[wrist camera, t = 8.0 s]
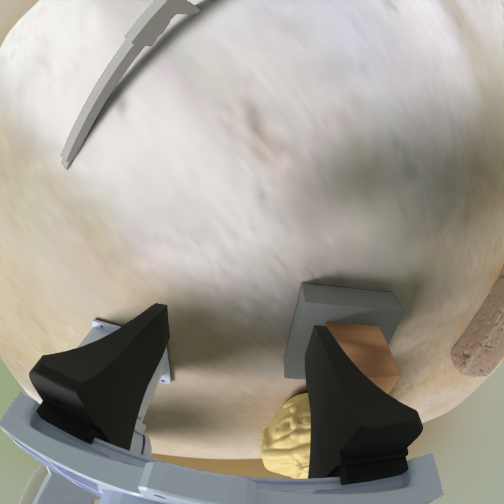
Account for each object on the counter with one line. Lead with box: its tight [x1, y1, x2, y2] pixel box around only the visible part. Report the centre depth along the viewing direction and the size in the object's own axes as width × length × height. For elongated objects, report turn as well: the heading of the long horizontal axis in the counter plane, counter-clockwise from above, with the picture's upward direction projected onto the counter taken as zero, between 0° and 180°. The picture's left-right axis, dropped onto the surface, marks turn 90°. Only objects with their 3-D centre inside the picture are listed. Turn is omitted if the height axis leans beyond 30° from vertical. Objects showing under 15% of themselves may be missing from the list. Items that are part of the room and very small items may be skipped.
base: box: [284, 283, 404, 379], centre depth 23 cm, size 9×9×3 cm
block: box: [324, 322, 401, 394], centre depth 19 cm, size 5×5×6 cm
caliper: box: [61, 0, 214, 170], centre depth 14 cm, size 20×1×6 cm, turn 133°
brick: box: [451, 266, 504, 377], centre depth 21 cm, size 17×8×5 cm, turn 161°
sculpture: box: [260, 393, 311, 479], centre depth 25 cm, size 12×12×11 cm
